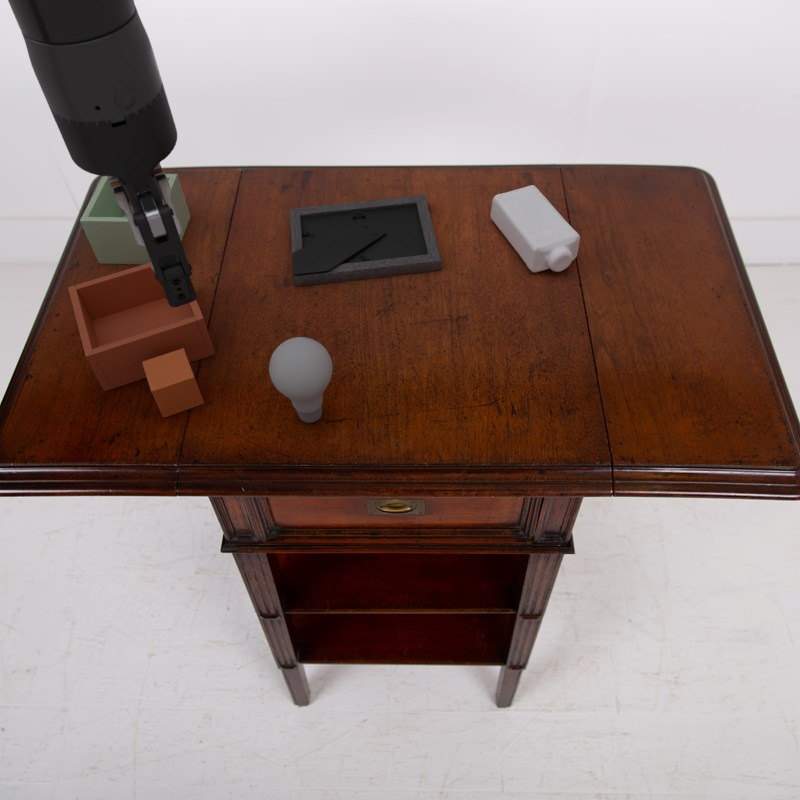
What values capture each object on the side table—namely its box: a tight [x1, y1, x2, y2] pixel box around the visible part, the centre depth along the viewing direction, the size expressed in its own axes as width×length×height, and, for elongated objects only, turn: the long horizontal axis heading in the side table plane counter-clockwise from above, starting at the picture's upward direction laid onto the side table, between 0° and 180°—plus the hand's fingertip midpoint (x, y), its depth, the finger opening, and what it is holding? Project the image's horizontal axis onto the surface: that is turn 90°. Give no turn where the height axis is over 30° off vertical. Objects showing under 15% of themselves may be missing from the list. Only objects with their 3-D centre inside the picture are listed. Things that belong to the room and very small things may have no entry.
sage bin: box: [79, 173, 191, 265], centre depth 96 cm, size 10×10×7 cm
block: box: [142, 348, 205, 418], centre depth 80 cm, size 4×4×4 cm
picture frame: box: [289, 193, 442, 287], centre depth 96 cm, size 13×2×18 cm
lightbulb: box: [268, 336, 334, 424], centre depth 75 cm, size 6×6×11 cm
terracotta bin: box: [67, 262, 216, 392], centre depth 85 cm, size 13×12×6 cm
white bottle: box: [490, 184, 581, 273], centre depth 94 cm, size 6×13×4 cm, turn 22°
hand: (170, 269), depth 63 cm, fingers open, 8 cm apart
